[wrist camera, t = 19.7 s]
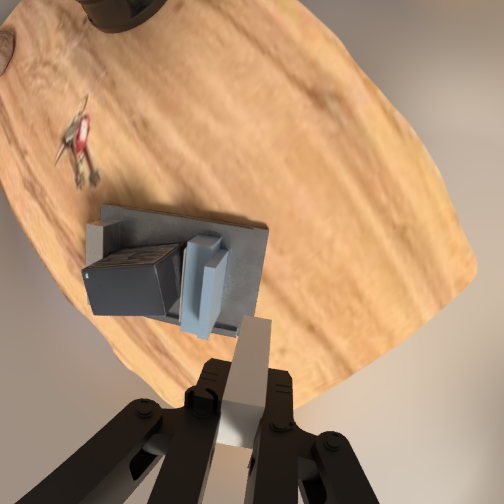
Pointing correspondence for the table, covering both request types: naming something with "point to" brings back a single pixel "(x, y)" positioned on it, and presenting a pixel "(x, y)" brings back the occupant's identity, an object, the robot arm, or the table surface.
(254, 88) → the table surface
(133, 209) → the vise
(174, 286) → the small box
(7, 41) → the stone
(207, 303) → the sliding jaw
